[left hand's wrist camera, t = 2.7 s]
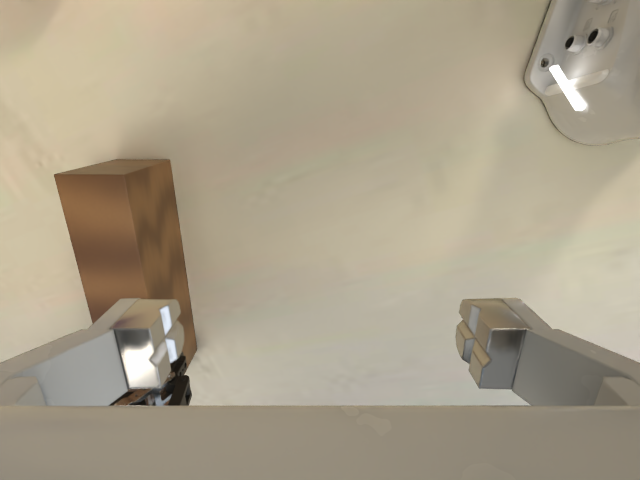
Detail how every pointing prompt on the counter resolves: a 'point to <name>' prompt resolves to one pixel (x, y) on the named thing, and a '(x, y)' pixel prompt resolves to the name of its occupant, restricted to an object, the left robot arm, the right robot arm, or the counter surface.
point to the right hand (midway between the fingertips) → (153, 357)
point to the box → (127, 236)
